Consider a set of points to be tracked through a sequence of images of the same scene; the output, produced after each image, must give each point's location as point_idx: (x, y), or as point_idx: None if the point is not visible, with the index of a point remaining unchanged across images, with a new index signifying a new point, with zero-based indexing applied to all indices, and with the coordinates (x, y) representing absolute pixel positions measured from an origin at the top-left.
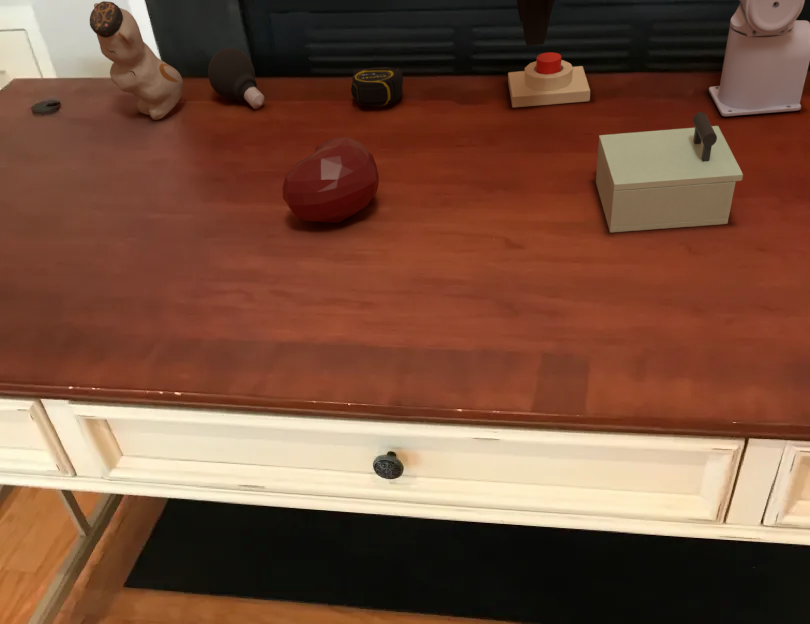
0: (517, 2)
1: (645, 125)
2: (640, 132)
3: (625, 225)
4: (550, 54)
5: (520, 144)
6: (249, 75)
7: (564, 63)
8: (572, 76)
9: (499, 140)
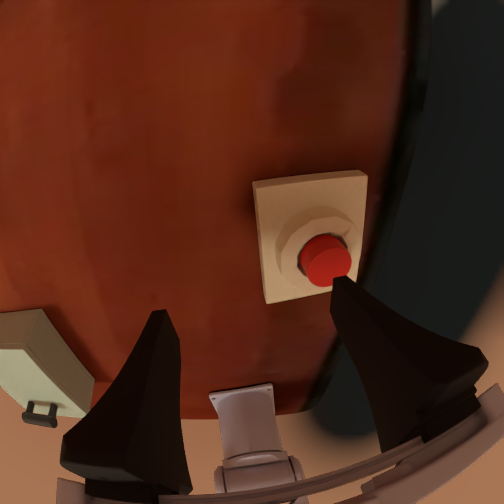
0: (359, 305)
1: (187, 348)
2: (49, 379)
3: None
4: (340, 269)
5: (105, 212)
6: None
7: None
8: None
9: (115, 175)
